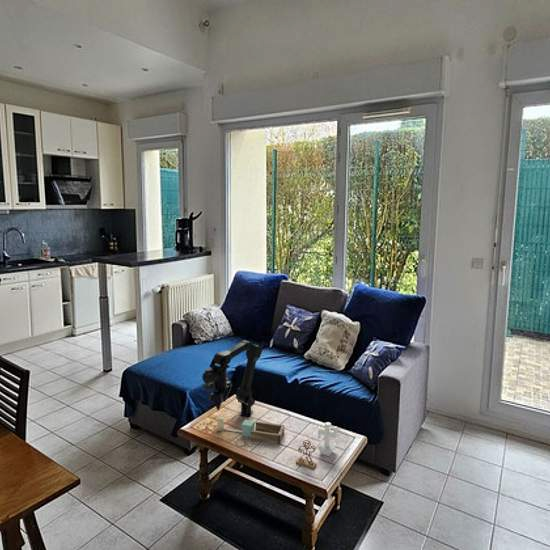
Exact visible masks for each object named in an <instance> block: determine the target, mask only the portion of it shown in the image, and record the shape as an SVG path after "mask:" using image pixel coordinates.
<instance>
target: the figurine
mask: <svg viewBox="0 0 550 550" xmlns="http://www.w3.org/2000/svg"><path fill="white" fill-rule="evenodd" d="M331 429H332V423H331V422H329V421H327V422H325V423H324V427H319V428H318V429H317V439H319V440H320V439H322V436H323V435H324V439H322V440H321V441H320V442H319V444H318V445H317V446H316V448H317V450H318V452H319V453H320V455H325V456H327V457H329V456H331V454H332V453H333V451H334V450H335V448H336V446H337V444H338V443H334V442H331V438H334V439H336V438H337V437H338V426H335V425H334V427H333V430H331Z"/></svg>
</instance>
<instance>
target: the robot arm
mask: <svg viewBox="0 0 550 550" xmlns="http://www.w3.org/2000/svg"><path fill="white" fill-rule="evenodd" d="M244 352H245V356H246V358H247V361H246V366H245V370H244V374H243V378H242V379H243V380H242V383H241V386H239V387H237V388H236V393H235V395H236V396H235V397H236V400H237V402H238V403H239V404H240V412H239V413H238V415H239V416H243V417H251V416H252V414H253V412H254V410H252V407H254V405H255V403H256V400H255V399H254V397H253V391H252V383H253V378H254V374H255V369H256V364H257V362H258V360H259V359H260V358H261V355H262V353H263V350H262V347H261V346H259V345H257V344H254V343H251V342H250V341H248V340H241V341H240V342H239V343H237V344H235V345H234V346H233V347H231V348H229V349H227V350H223V351H219V352H217V353H215V354H214V356H213V357H212V360H211V361H210V364H209V368H208V369H204V372H203V373H202V376H201V377H202V378H201V379H202V381H203V382H204V388H203V389H204V390H205V391H206V392H207V391H211V390H213V391H212V392H211V393H210V394H209V397H208V398H209V401H212V402H213V403H214V405H215V407H216V410H217V411H219V410H221V407H222V404H223V403H226V401H227V399H228V397H229V393H230V391H231V390H232V387H233V382H232V381H231V380H229V378H228V373H227V372H228V371H227V370H228V369H229V368H230V367H231V366H230V365H229V364H230V363H231V361H232V359H234V358H235V357H237V356H238V355H240V354H241V353H244Z"/></svg>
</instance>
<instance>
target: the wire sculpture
mask: <svg viewBox="0 0 550 550" xmlns="http://www.w3.org/2000/svg"><path fill="white" fill-rule="evenodd" d="M302 444H303V445H300V446H299V447H298V449H297V451H298V453H300V454H301V453H302V455H301V457H298V459H297V460H296V461H295V465H298V466H299V467H300V466H301V467H303V468H307V469H310V470H313V471H314V470H315V469H316V468H317V463H316V462H313V460H312V458H311V453H314V452H315V451H316V446H315V445H312V444H311V441H310V440H309V439H304V440H303V441H302ZM301 447H303V448H302V449H301ZM311 449H312V451H311ZM304 455H305V457H304V458H303V456H304ZM309 459H310V460H309Z"/></svg>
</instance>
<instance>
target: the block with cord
mask: <svg viewBox="0 0 550 550" xmlns="http://www.w3.org/2000/svg"><path fill="white" fill-rule="evenodd" d="M216 419H217V422H216V424H217V425H216V426H217V427H216V428H217V431H220V432H221V431H228V432H234V433H240V434H241V436H242V437H243V436H244V437H248V438H249V437H250V438H251V430H254V431H255V420H249V419H244V421H243V422H242V424H241V430H237V429H232V428H231V429H230V428H224V425H225V424H224V421H225V420H224V417H222V416H219V417H217V418H216Z"/></svg>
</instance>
